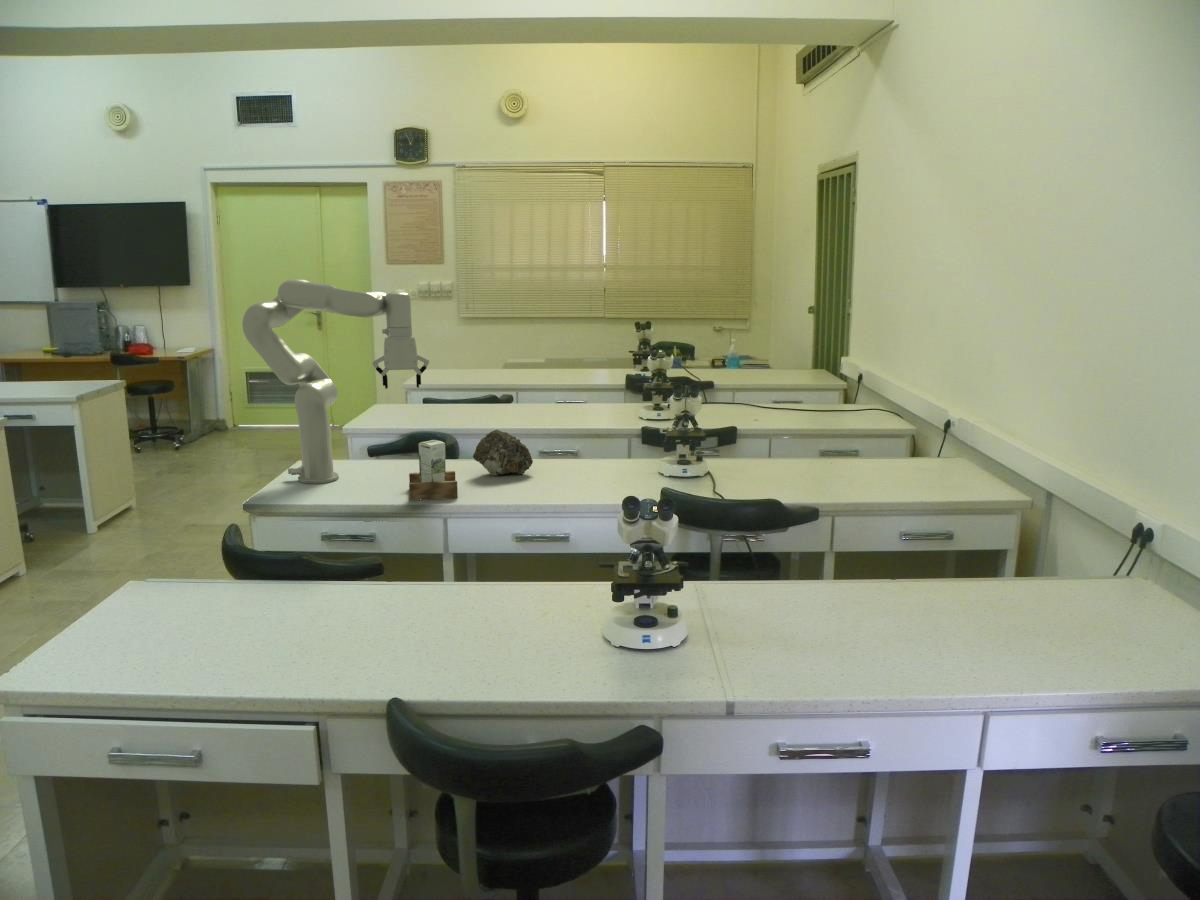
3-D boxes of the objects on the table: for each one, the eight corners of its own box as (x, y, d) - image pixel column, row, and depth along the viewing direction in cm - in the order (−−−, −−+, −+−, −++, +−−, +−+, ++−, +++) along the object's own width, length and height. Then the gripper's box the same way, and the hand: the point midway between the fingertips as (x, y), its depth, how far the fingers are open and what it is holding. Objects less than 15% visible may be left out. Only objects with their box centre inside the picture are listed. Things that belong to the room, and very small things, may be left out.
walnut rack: (409, 500, 269) (409, 484, 268) (409, 488, 282) (409, 473, 281) (457, 498, 272) (457, 481, 271) (455, 486, 285) (454, 470, 284)
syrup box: (434, 485, 281) (432, 439, 278) (447, 488, 277) (445, 441, 274) (419, 488, 276) (417, 442, 273) (432, 492, 273) (430, 444, 270)
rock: (493, 427, 290) (499, 411, 304) (465, 458, 294) (472, 441, 308) (537, 463, 295) (541, 445, 309) (508, 493, 299) (513, 474, 313)
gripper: (370, 334, 276) (373, 390, 280) (428, 333, 280) (430, 388, 283) (371, 332, 283) (374, 386, 287) (427, 331, 287) (430, 385, 290)
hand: (402, 387), depth 285 cm, fingers open, 9 cm apart
